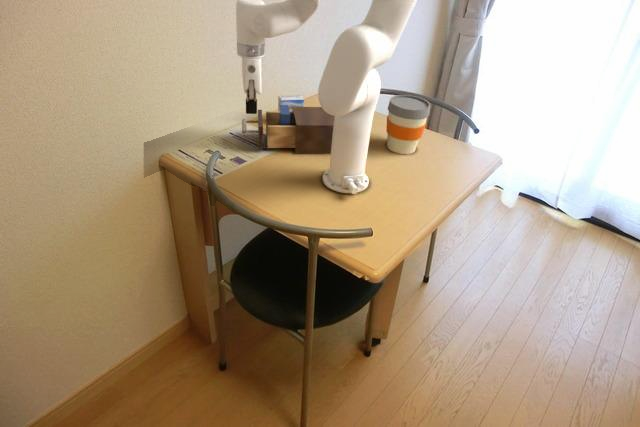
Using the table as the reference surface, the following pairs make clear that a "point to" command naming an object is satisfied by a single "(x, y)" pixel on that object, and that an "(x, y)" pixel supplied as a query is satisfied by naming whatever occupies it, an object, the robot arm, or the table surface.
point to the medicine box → (290, 101)
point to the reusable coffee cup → (406, 122)
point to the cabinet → (313, 130)
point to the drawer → (273, 130)
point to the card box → (284, 115)
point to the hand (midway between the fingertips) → (251, 112)
